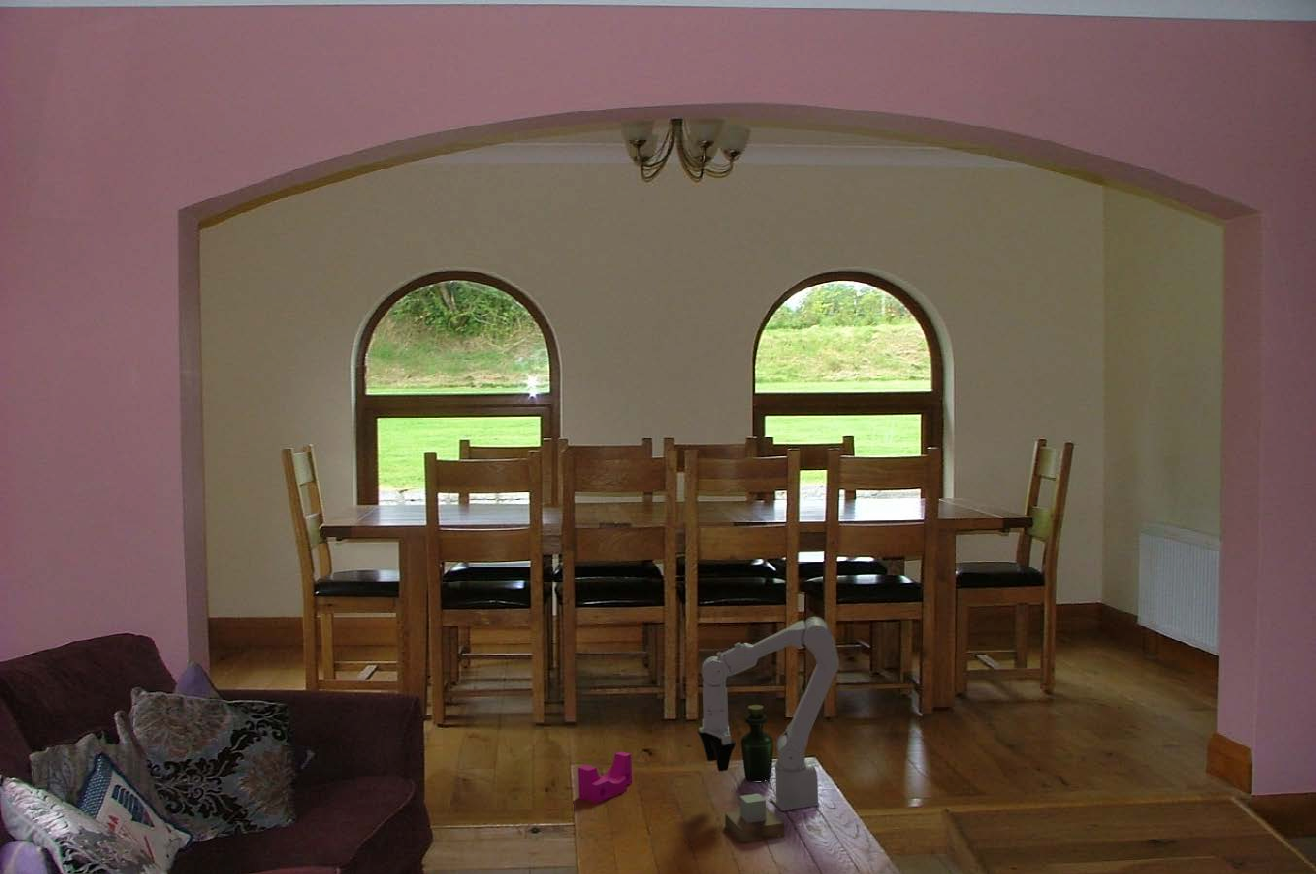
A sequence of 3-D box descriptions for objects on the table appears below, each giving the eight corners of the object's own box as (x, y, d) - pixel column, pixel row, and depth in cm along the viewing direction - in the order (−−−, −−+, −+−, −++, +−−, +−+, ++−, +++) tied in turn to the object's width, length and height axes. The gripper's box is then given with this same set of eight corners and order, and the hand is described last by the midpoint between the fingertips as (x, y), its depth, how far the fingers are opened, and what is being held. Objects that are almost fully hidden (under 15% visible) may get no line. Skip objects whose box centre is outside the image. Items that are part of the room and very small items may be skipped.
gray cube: (759, 813, 271) (758, 793, 270) (766, 820, 266) (765, 800, 266) (740, 815, 269) (739, 796, 269) (747, 823, 265) (746, 803, 265)
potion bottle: (778, 782, 298) (776, 710, 297) (746, 785, 297) (744, 713, 296) (769, 771, 306) (767, 701, 305) (737, 774, 305) (735, 704, 303)
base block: (767, 819, 274) (766, 807, 274) (784, 836, 265) (783, 822, 265) (725, 826, 271) (725, 813, 271) (741, 843, 262) (740, 829, 262)
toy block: (597, 803, 288) (596, 773, 288) (579, 798, 293) (577, 767, 292) (639, 785, 300) (638, 756, 299) (621, 780, 304) (620, 751, 303)
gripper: (689, 702, 289) (691, 758, 290) (709, 719, 275) (711, 777, 276) (717, 699, 291) (719, 754, 292) (738, 715, 277) (740, 773, 278)
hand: (717, 765), depth 284 cm, fingers open, 7 cm apart
